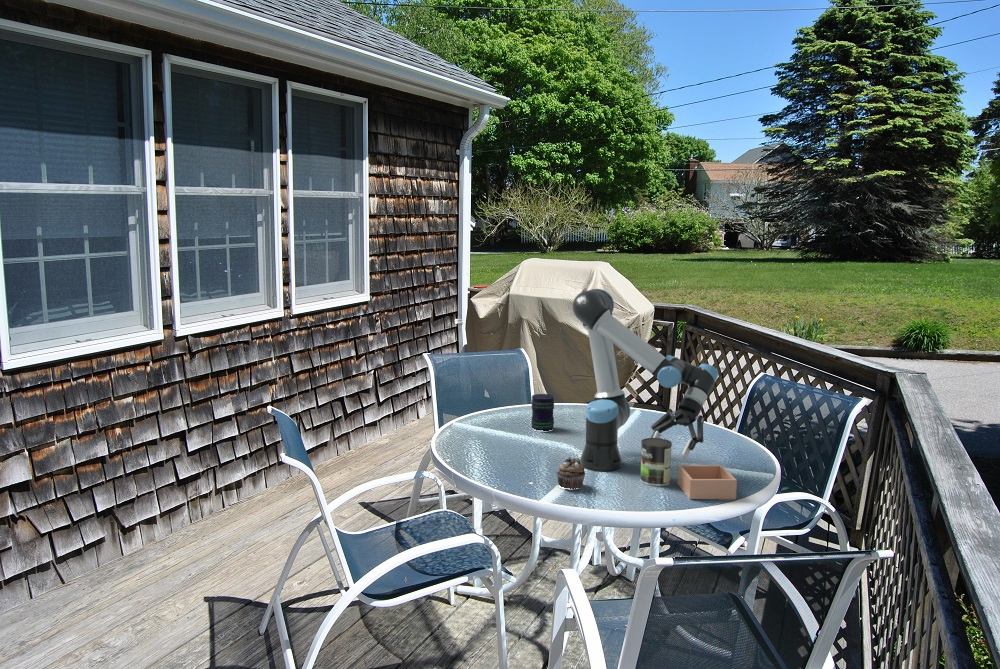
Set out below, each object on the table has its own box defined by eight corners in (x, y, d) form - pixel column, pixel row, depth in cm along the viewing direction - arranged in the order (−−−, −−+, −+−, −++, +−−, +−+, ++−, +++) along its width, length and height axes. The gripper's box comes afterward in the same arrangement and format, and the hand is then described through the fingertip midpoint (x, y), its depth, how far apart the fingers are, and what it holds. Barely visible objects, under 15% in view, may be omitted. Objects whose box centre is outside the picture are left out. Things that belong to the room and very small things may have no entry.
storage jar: (527, 430, 309) (527, 397, 307) (537, 425, 317) (538, 393, 315) (547, 433, 304) (547, 399, 302) (557, 428, 312) (558, 395, 310)
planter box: (689, 499, 228) (690, 480, 227) (677, 483, 242) (677, 465, 242) (735, 499, 228) (736, 480, 227) (720, 483, 243) (721, 465, 242)
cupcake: (582, 481, 244) (583, 453, 243) (586, 491, 235) (587, 462, 233) (554, 481, 244) (555, 453, 243) (557, 491, 234) (558, 462, 233)
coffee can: (650, 488, 238) (651, 447, 236) (634, 478, 248) (635, 439, 246) (676, 484, 242) (678, 444, 240) (659, 474, 251) (660, 436, 250)
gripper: (727, 415, 246) (702, 466, 238) (667, 402, 264) (641, 450, 256) (720, 402, 241) (694, 454, 233) (659, 391, 260) (633, 439, 252)
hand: (666, 452), depth 245 cm, fingers open, 13 cm apart
